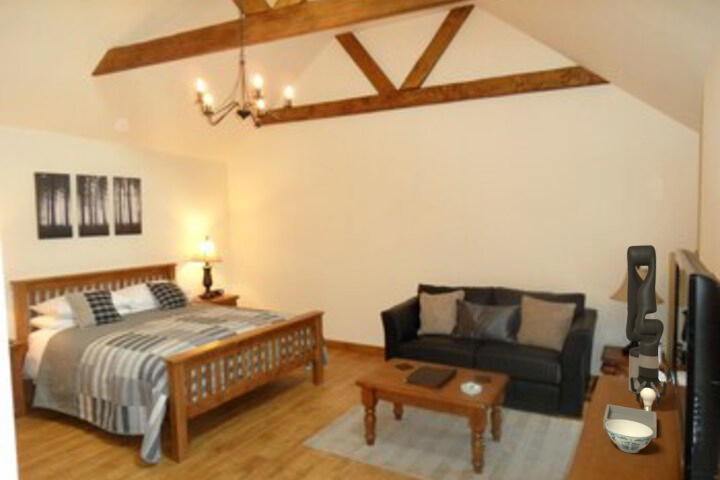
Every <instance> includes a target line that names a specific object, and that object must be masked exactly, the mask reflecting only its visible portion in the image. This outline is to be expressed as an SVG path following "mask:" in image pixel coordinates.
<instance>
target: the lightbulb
mask: <svg viewBox="0 0 720 480" xmlns="http://www.w3.org/2000/svg"><path fill="white" fill-rule="evenodd" d="M640 398H642V401H643V406H644V407H643V410H646V411H652V406H653V403H654V401H656V398H657V395H656V393H655V392H654V390H653V389H651V388H643V389H642V390H641V391H640Z"/></svg>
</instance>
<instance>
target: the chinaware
mask: <svg viewBox="0 0 720 480" xmlns="http://www.w3.org/2000/svg"><path fill="white" fill-rule="evenodd" d="M605 430H606V433H607V435H608V436H609V438H610V439H611V441H612V442H613V443H614V444H615V445H616V446H617V448H618V449H619V450H621V451H622V452H625V453H630V454H637V453H639V452H640V450H642V449H644V448H646V446H648V445H649V443H651V440H652V439H653V438H652V435H653V431H652V430H651V429H650V428H649V427H647V426H646V425H643V424H641V423H638V422H634V421H629V420H610V421H607V422H606V429H605Z"/></svg>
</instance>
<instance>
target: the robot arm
mask: <svg viewBox="0 0 720 480" xmlns="http://www.w3.org/2000/svg"><path fill="white" fill-rule="evenodd" d="M626 251H627V252H626V261H627V262H626V264H627V288H626V290H627V291H626V292H627V293H626V295H627V296H626V302H627V303H626V304H627V317H626V324H625V325H626V326H625V328H626V329H625V336H626V339H627V340H628V341H630V342H635V343H639V346H636V347H635V346H634V347H631V348H629V352H628V361H629V362H628V391H629V392H631V393H634V394H635V395H636V396H635V400H636V402H637V403H639V404H640V403H641V395H640V391H641V390H642V389H643V388H651V389H653V390H654V392H655V393H656V395H657V397H656V399H655V401H656V403H655V405H656V406H659V405H660V404H661V398H662V397H666V393H667V387H668V386H667V385H668V382H667V381H666V380H665V381H663V380H660V378H659V377H660V376H659V375H660V370H659V368H660V359H659V358H660V357H659V345H660V342H661V340H662V336H663V335H664V330H665V329H664V328H665V327H664V323H663V322H662V320H661V319H658V318H646V316H647V315H650V314H651V315H652V314H654V313H656V312H657V310H658V306H657V296H656V293H657V292H656V282H657V251H656V249H655V246H654V245H651V244H648V245H647V244H645V245H630V246H628V247H627V250H626ZM636 267H647V273H646V275H645V278H644V279H643V278H642V276H641V275H640V274H639V272H638V270H637V269H636ZM659 385H660V386H661V387H662V390H661V391H662V392H660V391H659V389H658V388H659V387H658V386H659Z"/></svg>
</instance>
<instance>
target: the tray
mask: <svg viewBox="0 0 720 480" xmlns="http://www.w3.org/2000/svg"><path fill="white" fill-rule="evenodd" d="M603 415H604V416H603V421H602V423H603V427H602V428H603V429H604V430H606V422H607V421H610V420H629V421H634V422H638V423H641V424H643V425H646V426H647V427H649V428H650V429H651V430H652V431H653V435H652V438H651V439H655V438H656V439H657V412H656V411H652V410H651V411H646V410H644V409H639V408H633V407H626V406H620V405H614V404H610V403H609V404H608V403H607V404H606V407H605V411H604V414H603Z"/></svg>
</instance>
